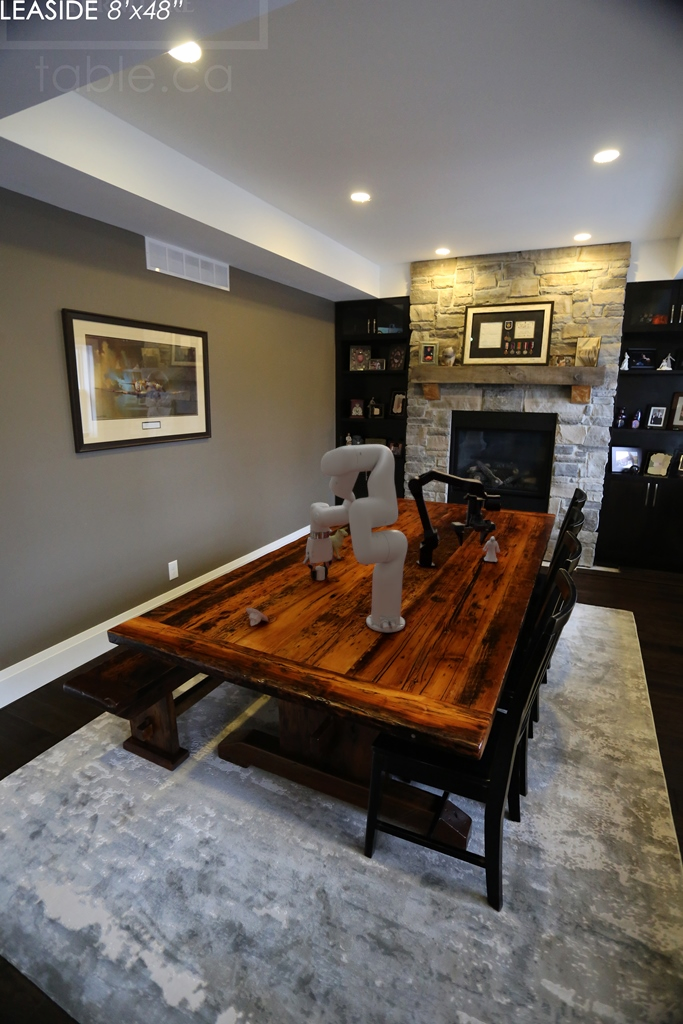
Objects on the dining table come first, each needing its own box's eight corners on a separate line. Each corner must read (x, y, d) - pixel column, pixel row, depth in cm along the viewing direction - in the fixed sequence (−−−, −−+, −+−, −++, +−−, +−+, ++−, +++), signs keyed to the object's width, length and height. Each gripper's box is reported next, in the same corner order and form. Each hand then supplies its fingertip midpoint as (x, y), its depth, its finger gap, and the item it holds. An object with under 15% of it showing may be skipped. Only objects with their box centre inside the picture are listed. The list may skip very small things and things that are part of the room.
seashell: (251, 634, 162) (235, 615, 161) (262, 623, 165) (246, 604, 164) (262, 630, 156) (245, 610, 155) (273, 618, 159) (257, 599, 158)
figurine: (481, 562, 222) (483, 536, 219) (482, 556, 230) (484, 531, 227) (499, 564, 220) (501, 538, 217) (499, 558, 228) (501, 533, 225)
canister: (322, 575, 203) (322, 565, 202) (326, 579, 199) (326, 569, 198) (312, 577, 201) (312, 566, 200) (316, 581, 198) (316, 570, 196)
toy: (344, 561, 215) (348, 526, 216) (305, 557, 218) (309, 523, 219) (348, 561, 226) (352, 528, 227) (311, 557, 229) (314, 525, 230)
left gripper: (333, 529, 203) (332, 571, 208) (296, 534, 195) (296, 578, 199) (343, 533, 197) (342, 577, 201) (304, 539, 188) (304, 584, 193)
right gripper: (461, 515, 200) (458, 552, 204) (504, 514, 204) (500, 550, 207) (450, 509, 210) (447, 544, 214) (491, 508, 214) (487, 542, 218)
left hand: (319, 577), depth 200 cm, fingers closed on canister, 4 cm apart
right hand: (471, 545), depth 213 cm, fingers open, 9 cm apart
